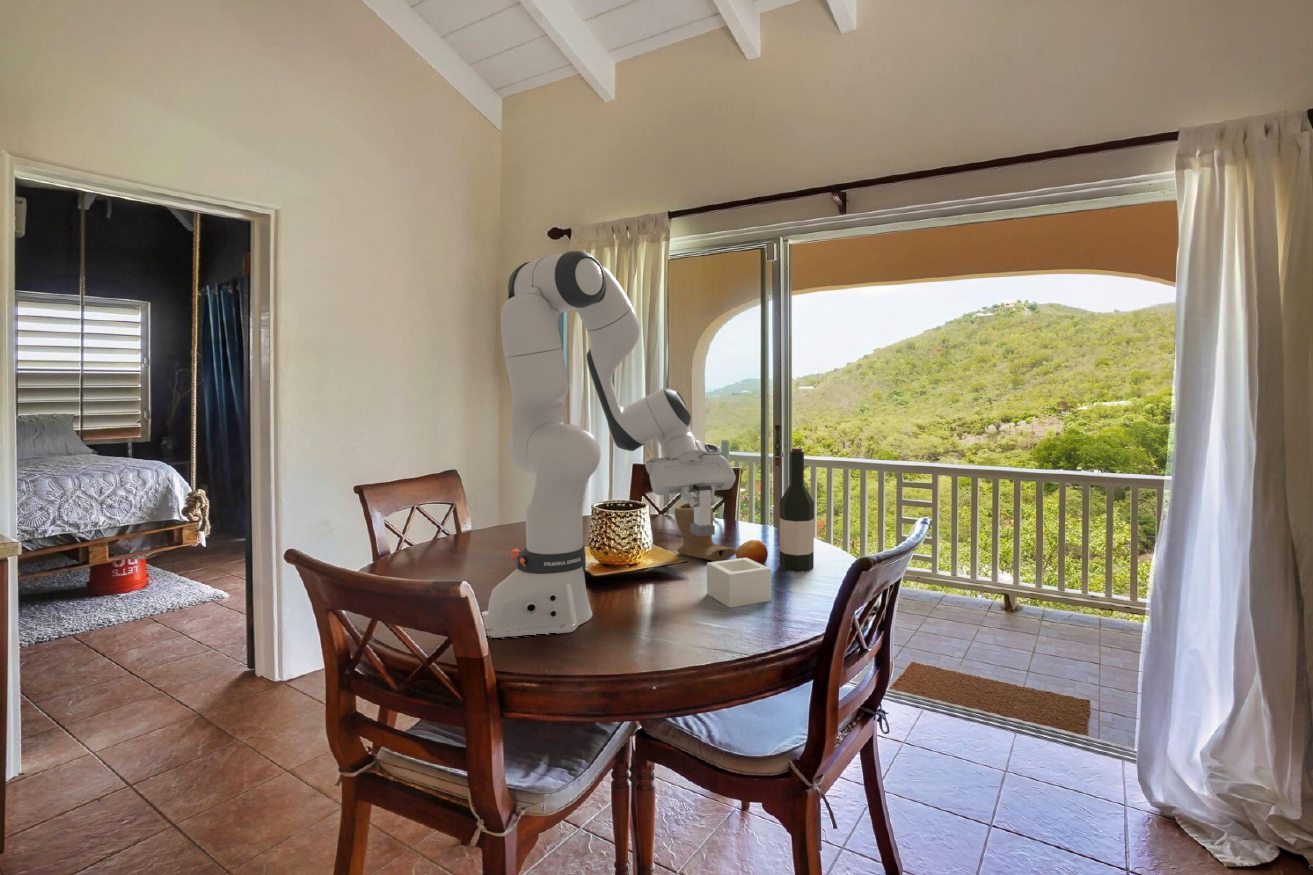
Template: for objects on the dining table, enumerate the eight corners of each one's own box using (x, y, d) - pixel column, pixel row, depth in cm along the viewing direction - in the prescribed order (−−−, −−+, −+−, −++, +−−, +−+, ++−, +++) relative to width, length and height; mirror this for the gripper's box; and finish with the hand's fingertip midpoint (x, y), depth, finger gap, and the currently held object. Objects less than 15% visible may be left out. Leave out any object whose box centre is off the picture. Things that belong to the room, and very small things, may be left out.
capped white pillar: (698, 536, 146) (698, 486, 145) (690, 532, 150) (690, 484, 149) (714, 534, 147) (714, 485, 147) (706, 530, 151) (705, 483, 150)
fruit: (774, 566, 162) (757, 538, 162) (747, 582, 163) (730, 554, 164) (775, 558, 170) (759, 531, 170) (749, 572, 171) (733, 546, 172)
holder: (729, 607, 137) (729, 574, 137) (707, 593, 146) (706, 562, 146) (770, 600, 141) (770, 568, 140) (746, 587, 150) (746, 557, 150)
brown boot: (665, 556, 179) (665, 501, 178) (697, 548, 187) (697, 495, 185) (705, 567, 167) (704, 508, 166) (737, 559, 175) (737, 502, 174)
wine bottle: (820, 568, 165) (821, 448, 163) (796, 573, 161) (797, 450, 158) (796, 561, 172) (796, 446, 170) (772, 566, 167) (772, 448, 165)
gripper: (646, 450, 149) (665, 500, 141) (725, 446, 157) (747, 492, 149) (639, 468, 153) (657, 517, 145) (716, 462, 162) (737, 509, 154)
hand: (703, 504), depth 147 cm, fingers closed on capped white pillar, 3 cm apart
